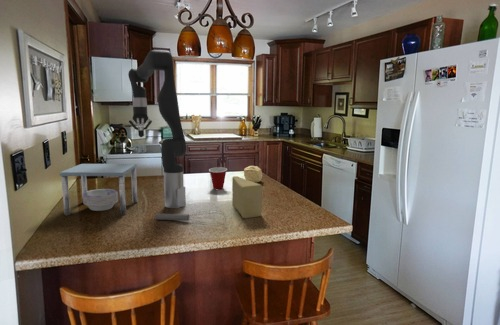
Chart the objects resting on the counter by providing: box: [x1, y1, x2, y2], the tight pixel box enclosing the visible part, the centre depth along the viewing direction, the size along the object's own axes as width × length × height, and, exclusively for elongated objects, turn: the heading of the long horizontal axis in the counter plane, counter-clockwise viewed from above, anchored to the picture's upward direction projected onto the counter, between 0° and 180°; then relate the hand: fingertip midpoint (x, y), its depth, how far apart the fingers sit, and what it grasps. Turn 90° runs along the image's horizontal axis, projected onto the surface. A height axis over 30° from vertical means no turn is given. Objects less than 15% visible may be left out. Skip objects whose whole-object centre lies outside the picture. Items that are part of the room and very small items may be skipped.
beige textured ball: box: [243, 165, 263, 184], centre depth 222 cm, size 11×12×11 cm
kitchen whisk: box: [152, 209, 227, 227], centre depth 145 cm, size 6×34×6 cm, turn 77°
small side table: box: [59, 163, 138, 216], centre depth 162 cm, size 22×27×20 cm
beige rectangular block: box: [231, 175, 263, 219], centre depth 161 cm, size 22×10×15 cm, turn 25°
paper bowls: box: [82, 188, 119, 212], centre depth 162 cm, size 15×15×8 cm
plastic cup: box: [208, 166, 228, 190], centre depth 203 cm, size 11×11×12 cm
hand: (141, 137), depth 193 cm, fingers closed
